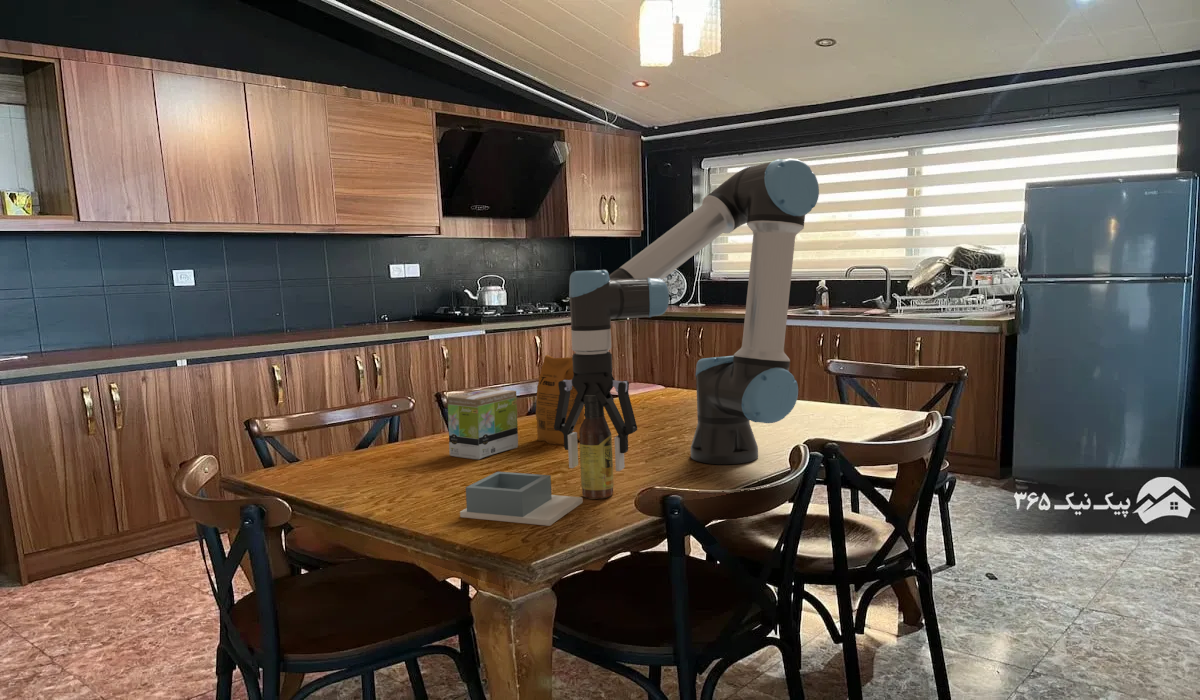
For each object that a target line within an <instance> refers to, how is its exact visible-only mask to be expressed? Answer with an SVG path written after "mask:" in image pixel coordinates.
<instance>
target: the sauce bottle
mask: <svg viewBox="0 0 1200 700" xmlns="http://www.w3.org/2000/svg"><path fill="white" fill-rule="evenodd" d="M583 403H584V421H583V423H582V424H581V427H580V433H579V434H580V440H579V464H580V481H581V482H580V484H581V485H580V486H581V491H582V493H581V494H582V497H583V498H585V499H588V500H603V499H607V498H610V497H612V496H613V495H614V467H613V466H614V464H613V462H614V461H613V441H612V439H613V438H612V432H611V430H610V427H609V425H608V422H607V418H606V417H605V411H604V410H605V408H604V406H603V405H602V404H601V402H600V401H598V399H597V397H596V395H584V399H583Z"/></svg>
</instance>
